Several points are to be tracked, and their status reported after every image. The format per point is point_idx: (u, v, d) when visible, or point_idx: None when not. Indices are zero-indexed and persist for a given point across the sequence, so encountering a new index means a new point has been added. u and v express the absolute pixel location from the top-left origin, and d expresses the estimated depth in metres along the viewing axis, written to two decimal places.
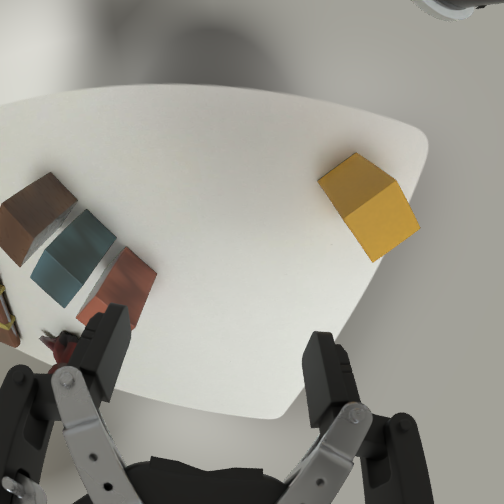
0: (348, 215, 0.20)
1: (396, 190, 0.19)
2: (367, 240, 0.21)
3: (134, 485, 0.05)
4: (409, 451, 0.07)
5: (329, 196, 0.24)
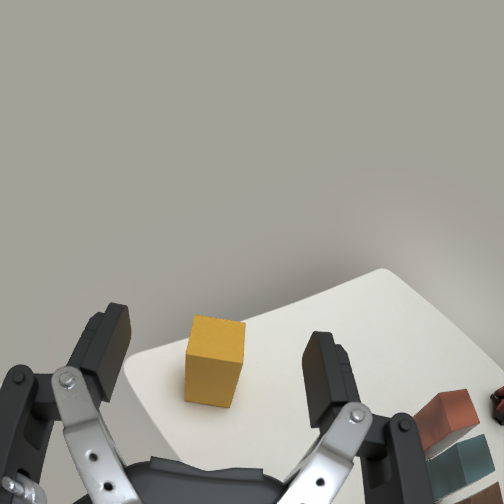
0: (236, 361, 0.24)
1: (191, 348, 0.24)
2: (237, 338, 0.26)
3: (134, 485, 0.05)
4: (409, 451, 0.07)
5: (234, 388, 0.26)
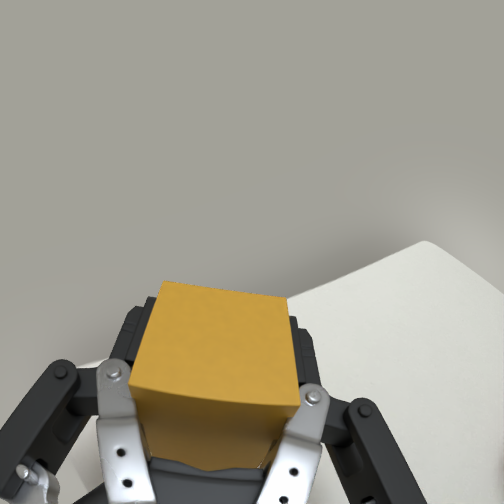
0: (283, 404, 0.08)
1: (146, 368, 0.08)
2: (274, 335, 0.10)
3: (155, 487, 0.05)
4: (376, 436, 0.07)
5: (265, 453, 0.10)
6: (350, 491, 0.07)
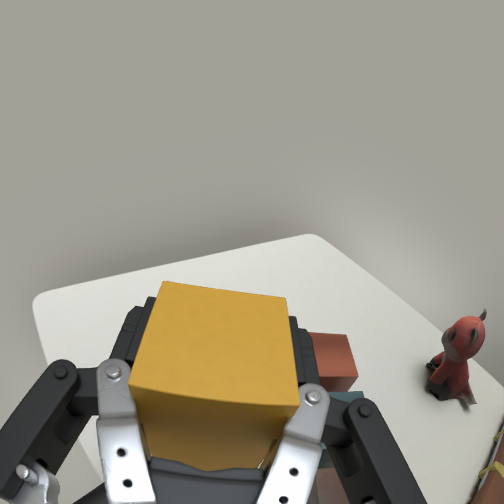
0: (282, 404, 0.08)
1: (145, 368, 0.08)
2: (273, 336, 0.10)
3: (155, 487, 0.05)
4: (376, 436, 0.07)
5: (265, 453, 0.10)
6: (350, 491, 0.07)
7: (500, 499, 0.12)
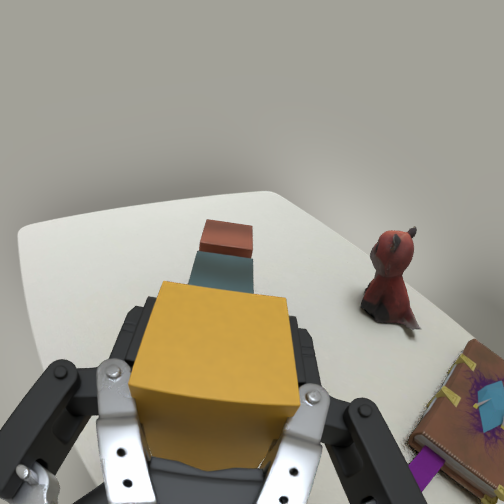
0: (282, 404, 0.08)
1: (146, 368, 0.08)
2: (273, 336, 0.10)
3: (154, 487, 0.05)
4: (376, 436, 0.07)
5: (265, 453, 0.10)
6: (350, 491, 0.07)
7: (453, 431, 0.18)
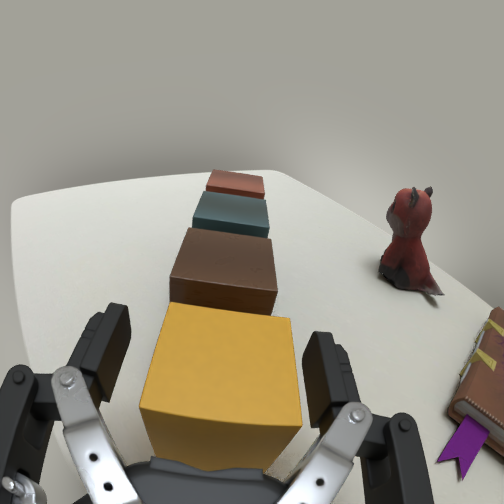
0: (286, 424, 0.08)
1: (155, 391, 0.08)
2: (277, 357, 0.10)
3: (134, 485, 0.05)
4: (409, 451, 0.07)
5: (268, 464, 0.10)
6: (370, 503, 0.07)
7: (495, 396, 0.15)
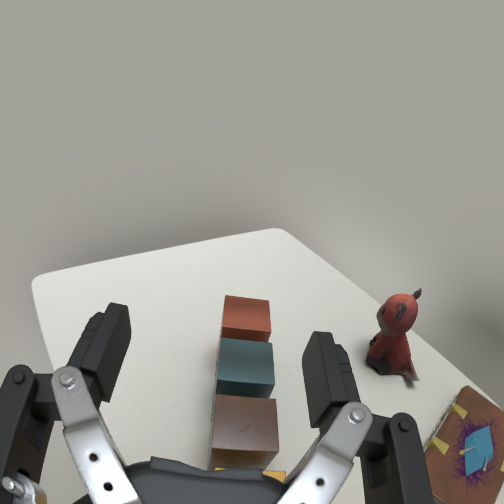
0: None
1: None
2: None
3: (134, 485, 0.05)
4: (409, 451, 0.07)
5: None
6: (370, 503, 0.07)
7: (439, 476, 0.19)
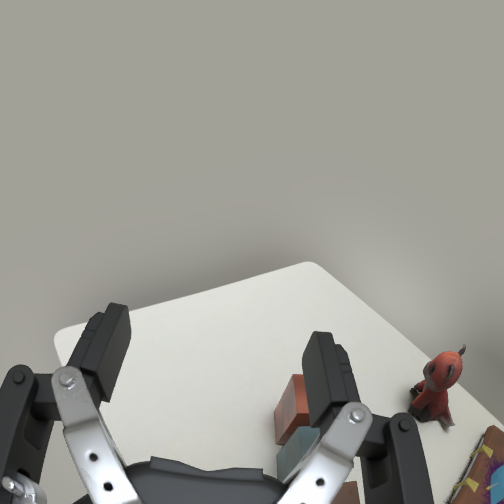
0: None
1: None
2: None
3: (134, 485, 0.05)
4: (409, 451, 0.07)
5: None
6: (370, 503, 0.07)
7: None
